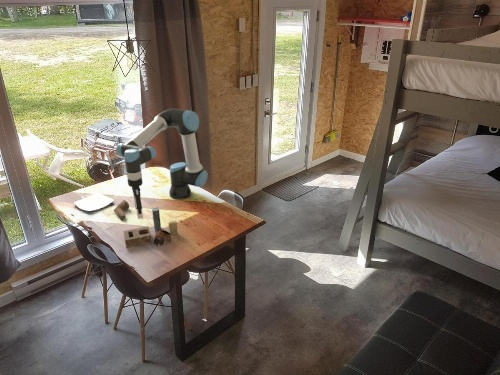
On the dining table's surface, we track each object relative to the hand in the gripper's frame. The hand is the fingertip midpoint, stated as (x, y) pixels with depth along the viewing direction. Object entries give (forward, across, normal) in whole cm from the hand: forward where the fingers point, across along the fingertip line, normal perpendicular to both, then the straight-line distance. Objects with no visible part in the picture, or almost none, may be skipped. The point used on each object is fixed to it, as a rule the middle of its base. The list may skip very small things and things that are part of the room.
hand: (139, 212), depth 215 cm
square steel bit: (+17, -7, +10) cm, 21 cm away
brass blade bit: (+17, +1, +18) cm, 25 cm away
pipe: (+18, -34, -7) cm, 39 cm away
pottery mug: (+18, +8, +10) cm, 22 cm away
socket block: (+17, +1, -2) cm, 18 cm away
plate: (+18, -52, -25) cm, 61 cm away
